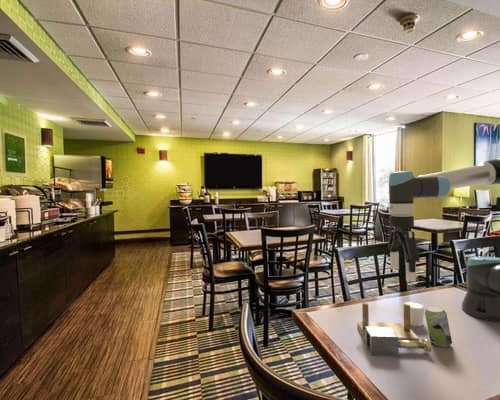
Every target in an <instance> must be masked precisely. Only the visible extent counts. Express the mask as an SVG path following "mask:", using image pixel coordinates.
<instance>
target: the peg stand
mask: <svg viewBox="0 0 500 400" xmlns="http://www.w3.org/2000/svg"><path fill="white" fill-rule="evenodd" d="M361 305H362V317H361V318H362V321H357V325H356V326H357V329H358V331H359V332H360V335H361V336H362V338H363V340H364V341H365V342H366V339H365V326H372V327H391V328H392V330H393V331H394V332H395V333H396V335H397V336H398V340H405V341H420V337H418V336H417V335H416V333H414V331H413V330H412V329H411V325H410V305H409V304H404V303H403V322H383V321H382V322H379V321H377V322H375V321H369V316H370V315H369V303H367V302H362V303H361Z"/></svg>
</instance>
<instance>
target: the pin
mask: <svg viewBox="0 0 500 400" xmlns="http://www.w3.org/2000/svg"><path fill="white" fill-rule="evenodd" d="M398 348H399V349H412V350H415V349H416V350H423V351H424V352H426V353H430V352H432V347H431V341H429V339H428V338H421V340H419V341H405V340H398Z"/></svg>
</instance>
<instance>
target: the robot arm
mask: <svg viewBox="0 0 500 400" xmlns="http://www.w3.org/2000/svg"><path fill="white" fill-rule="evenodd" d="M475 185H482V186H490V185H500V157H497V158H494V159H489V160H485V161H481V162H478V163H477V164H476V165H472V166H466V167H461V168H456V169H451V170H444V171H439V172H434V173H428V174H423V175H418V176H415V175H414V172H413V171H409V170H406V171H394V172H391V173H390V174H389V176H388V199H389V203H388V204H389V205H388V207H387V209H388V210H389V215H390V216H389V226H390V233H389V238H388V243H387V249H388V250H389V254H390V258H389V259H390V263H389V264H390V270H400V255H399V252H400V249H399V248H400V245H402V249H403V251H404V254H405V257H406V259H405V261H404V262H405V281H406V282H413V283H414V282H416V281H417V267H416V266H417V263H420V256H419V251H418V246H417V242H416V239H415V237H416V236H415V231H410V228H413V227H415V217H414V216H413V215H414V214H415V199H419V198H420V199H423V198H424V199H429V198H430V199H431V198H435V199H437V198H445V197H446V196H448V194H449V193H450V192H451V190H453V189H459V188H465V187H471V186H475ZM466 261H467V263H466V293H465V294H464V298H463V299H462V300H463V301H462V302H461V309H462V311H463V312H465V313H466V314H468V315H469V316H472V317H476V318H479V319H482V320H485V321H491V322H497V321H500V257H495V256H471V257H469V258H468V259H467V260H466Z"/></svg>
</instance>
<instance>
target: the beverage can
mask: <svg viewBox="0 0 500 400" xmlns="http://www.w3.org/2000/svg"><path fill="white" fill-rule="evenodd" d="M424 316H425V319H426V320H425V321H426V324H427V325H426V326H427V330H428V331H427V333H428V336H429V340H430V341H429V342H430V343H432V344H434V345H436V346H439V347H448V346H450V345H452V344H453V341H452V334H451V329H450V325H449V320H448V314H447V312H446V310H444V308H443V307H441V306H438V305H428V306H427V307H425V309H424Z"/></svg>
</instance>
